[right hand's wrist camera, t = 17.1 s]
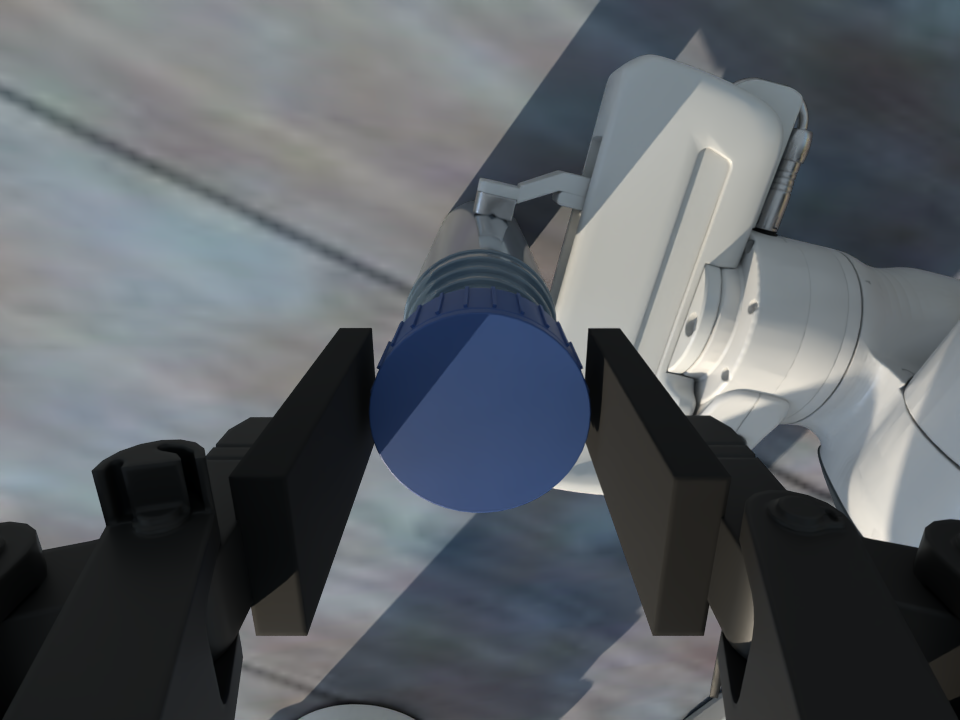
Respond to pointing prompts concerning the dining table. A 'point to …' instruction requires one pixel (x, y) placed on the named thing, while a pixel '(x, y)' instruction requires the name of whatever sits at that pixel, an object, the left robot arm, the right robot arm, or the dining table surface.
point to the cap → (479, 401)
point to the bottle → (479, 260)
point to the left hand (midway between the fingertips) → (461, 262)
